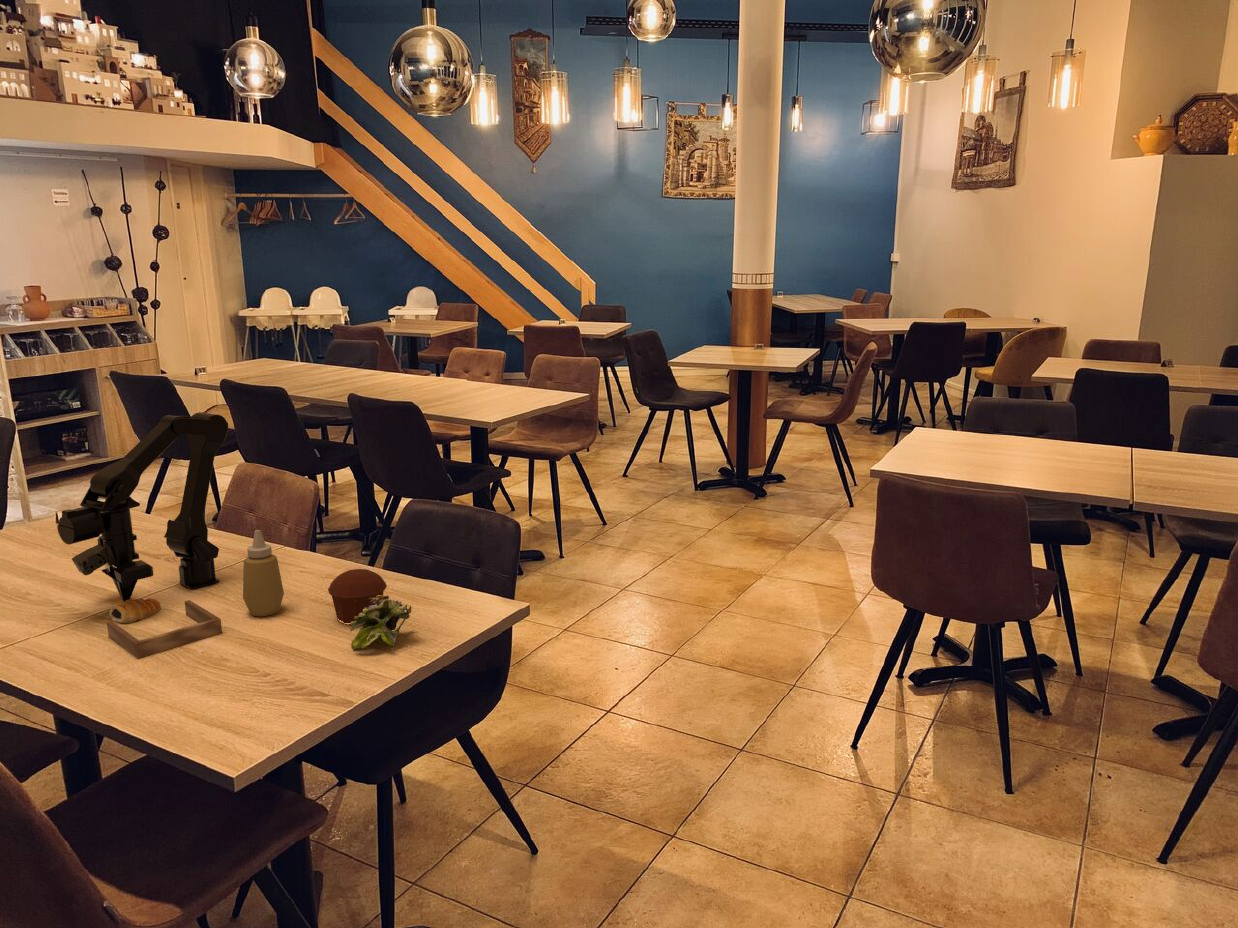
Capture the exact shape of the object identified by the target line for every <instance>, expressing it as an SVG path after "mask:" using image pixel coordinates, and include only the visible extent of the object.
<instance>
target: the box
mask: <svg viewBox="0 0 1238 928" xmlns="http://www.w3.org/2000/svg"><path fill="white" fill-rule="evenodd" d="M184 610H185V616H187V617H189V618H190V619H191V620H193V621H195V622H196V623H195V624H192V625H188V626H184V627H181V628H177V629H175V630H170V631H167V632H164V633H162V634H161V633H160V634H157V635H154V636H151V637H147V638H143V639H138V638H137V637H135V636H133V634H131V633H130V632H129V631H127V630H125V629H124V628H123V627H121V626H119V625H118V624H117V623H116V622H115V621H113V620H111V621H107V622H106V627H107V635H108V636H107V637H109V639H111V640H112V641H113V642H115V643H116V644H118V646H120V647H121V648H122V649H124V650H125V651H127V653H129V654H130V655H132V656H133V657H134V658H136V659H141V658H145V657H147V656H151V655H154V654H158V653H161V652H164V651H168V650H171V649H173V648H177V647H180V646H183V645H186V644H190V643H192V642H197V641H200V640H204V639H207V638H210V637H212V636H213V637H214V636H216V635H220V634H222V633H223V628H222V620H221V619H222V618H220V617H218V616H217V615H215V614H213V613H212V612H210V611H209V610H208V609H205V608H204V607H202V606H201V605H199V604H196V603H195V602H193V601H191V600H190V599H189V600H185V601H184Z"/></svg>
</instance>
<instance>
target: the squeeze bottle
mask: <svg viewBox="0 0 1238 928" xmlns="http://www.w3.org/2000/svg"><path fill="white" fill-rule="evenodd" d="M246 550H247V551H246V552H247V557H246V558H244V560H243V569H242V572H243V573H242V574H243V575H242V577H243V578H242V599H243V601H244V603H245V605H246V608H247V610H248V612H249V613H250V615H251V616H254V617H267V616H271V615H274V614H277V613H278V612H279V611H280V610H281V605H282V603H283V600H284V599H283V598H284V595H285V594H284V593H285V591H284V587H283V586H284V585H283V581H282V575H281V572H280V565H279V561H278V557H277V556H276V555H275V554H273V553H272V552H273V551H272V545H271V544H267V543H266V542H265V539H264V535H263V533H262V530H261V529H255V530H254V533H253V541H252V545H250V546H248V547H247V548H246Z"/></svg>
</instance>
